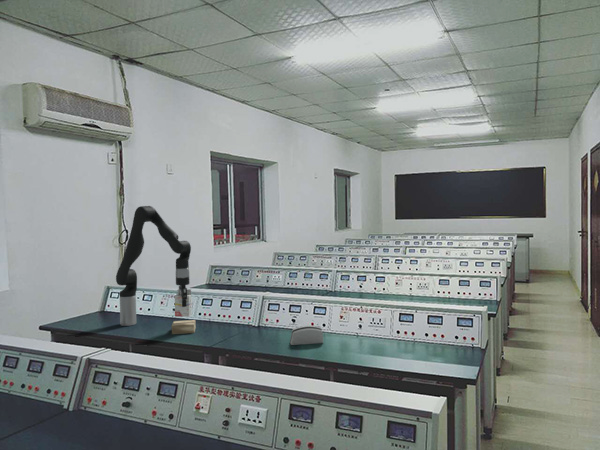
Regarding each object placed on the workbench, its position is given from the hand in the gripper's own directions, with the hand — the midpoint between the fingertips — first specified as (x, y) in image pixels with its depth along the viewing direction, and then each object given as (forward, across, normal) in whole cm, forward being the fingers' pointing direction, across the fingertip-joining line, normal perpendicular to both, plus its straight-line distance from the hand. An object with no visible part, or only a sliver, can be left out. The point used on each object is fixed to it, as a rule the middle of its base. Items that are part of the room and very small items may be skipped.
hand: (183, 305), depth 274 cm
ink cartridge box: (+6, 0, 0) cm, 6 cm away
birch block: (+15, 0, 0) cm, 15 cm away
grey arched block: (+15, +55, +52) cm, 77 cm away
